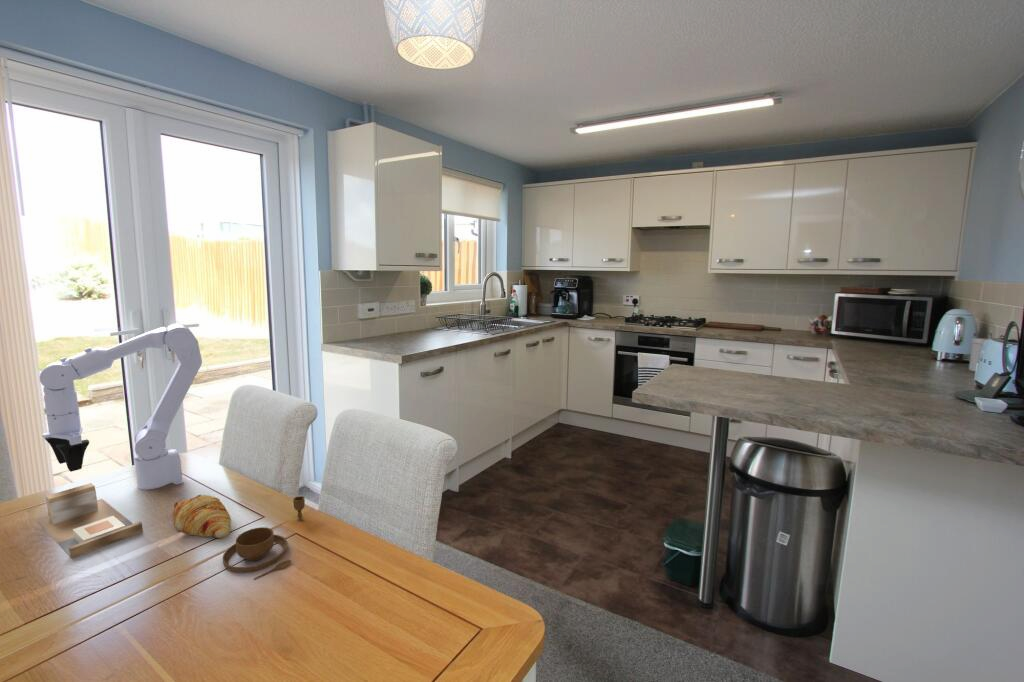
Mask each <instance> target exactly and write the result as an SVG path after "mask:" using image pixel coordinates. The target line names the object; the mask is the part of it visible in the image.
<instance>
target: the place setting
mask: <svg viewBox="0 0 1024 682" xmlns="http://www.w3.org/2000/svg"><path fill="white" fill-rule="evenodd" d="M292 500H293V501H292V503H293V508H294V510H295V511H297V515H296V516H297V520H296V521H297V522H302V521H303V520H304V519H303V518H302V517H303V513H302V510H303V509H304V508H305V504H306V502H305V501H306V500H305V496H302V495H299V496H295V497H293V499H292ZM274 533H275V532H274V530H273V529H271V528H269V527H268V526H267V527H253V528H251V529H248V530H246V531H244V532H242V533H240V534H238V536H237V537H236V538H235V543H234V544H232V545H231V546H230V547H228V548H227V549H226V550H225V551H224V552H223V555H222V559H221V560H222V563H223V565H224V567H225V568H226V569H227V570H229V571H230V572H235V573H252V572H256V571H261V570H263V569H265V568H268V567H269V566H273V565H274V564H276V563H277V562H279V560H281V559H282V558H283V557H284V556H285V554H286V552H287V549H288V541H287V539H286V537H284V536H281V535H280V534H274ZM275 543H276V544H278V545H279V546H281V548H282V551H281V552H280V553H279V554H278V555H276V556H275V557H274V558H272V559H270V560H267V561H265V562H263V563H260V564H256V565H252V566H233V565H231V564H230V563H229V561H230V559H231V557H232V556H233V555H234V554H235V553H237V555H238V557H239V558H241V559H245V560H246V561H251V562H252V561H254V562H255V561H257V560H258V561H259V560H260V559H262V558H264V557H265V556H266V555H268V554H269V553H270V551H272V549H273V547H274V545H275ZM291 563H292V560H291V559H288V560H284V561H281V562H280V563H278V564H276V566H274V567H273V568H272V569H270V570H268V571H266V572H264V573H262V574H260V575H258V576H256V577H253V580H254V581H256V580H259V579H260V578H262V577H264V576H266V575H267V574H270V573H271V572H274V571H280V570H283V569H284V568H287V567H288V566H289V565H291Z"/></svg>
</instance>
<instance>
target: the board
mask: <svg viewBox="0 0 1024 682" xmlns="http://www.w3.org/2000/svg"><path fill="white" fill-rule="evenodd" d="M97 504H98V510H97V511H93V512H90V513H87V514H84V515H81V516H78V517H75V518H72V519H69V520H66V521H63V522H60V523H57V524H54V525H53V524H52V523H51V522H50V521H49V515H45V516H43V517H39V518H36V519H35V520H36V522H38V524H39V525H40V526H41V527H42V528H43V529H44V530H45V531H46V532H47V534H48V535H49V536H50V537H51V538H52V539H53V540H54V541H55V542H56V544H58V545H59V547H60V548H61V549H62V550H63V551H64V552H65V554H67V555H68V556H69V558H70V559H74V558H77V557H79V556H81V555H84V554H89V553H90V552H92V551H95V550H99V549H100V548H103V547H106V546H108V545H111V544H113V543H114V544H115V543H116V542H119V541H123V540H124V539H127V538H131V537H132V536H134V535H135V536H136V535H138V534H140V533H143V532H144V528H143V522H141V521H138V522H135V523H133V522H132V521H130V519H128V518H127V517H126V516H124V515H123V514H122V513H121V512H119V511H118V510H117V509H116V508H114V507H113V506H112V505H111V504H109V503H108V502H106V501H105V500H104V499H103V498H100V499H97ZM111 516H114V517H115V518H117V519H118V520H119V521H120V522H122V523H123V524H124V525H125V527H124V528H121V529H118V530H115V531H113V532H110V533H107V534H104V535H102V536H99V537H96V538H93V539H90V540H88V541H85V542H82V543H78V542H77V541H76V540H75V539H74V536H73V529H75V528H78V527H81V526H84V525H87V524H90V523H93V522H96V521H99V520H102V519H105V518H108V517H111Z"/></svg>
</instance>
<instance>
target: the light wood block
mask: <svg viewBox="0 0 1024 682" xmlns="http://www.w3.org/2000/svg"><path fill="white" fill-rule="evenodd" d="M97 498H98V497H97V491H96V486H95V485H94V484H93V483H91V482H90V483H86V484H83V485H80V486H76V487H75V486H74V487H71V488H69V489H66V490H62V491H57V492H55V493H51V494H47V495H45V501H46V507H47V514H48V515H49V521H50V522H51V523H52V524H53V525H54V524H57V523H60V522H63V521H66V520H69V519H72V518H75V517H78V516H81V515H84V514H87V513H90V512H93V511H97V510H98V504H97V500H98V499H97ZM48 515H47V516H48Z"/></svg>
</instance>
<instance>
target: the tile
mask: <svg viewBox="0 0 1024 682" xmlns="http://www.w3.org/2000/svg"><path fill="white" fill-rule="evenodd" d="M124 527H125V525H124V524H123V523H122V522H120V521H119V520H118V519H117V518H115V517H114V516H111V517H108V518H105V519H102V520H99V521H96V522H93V523H90V524H87V525H84V526H81V527H78V528H75V529H73V536H74V539H75V540H76V541H77V542H78V543H82V542H85V541H88V540H90V539H93V538H96V537H99V536H102V535H104V534H107V533H110V532H113V531H115V530H118V529H121V528H124Z"/></svg>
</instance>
